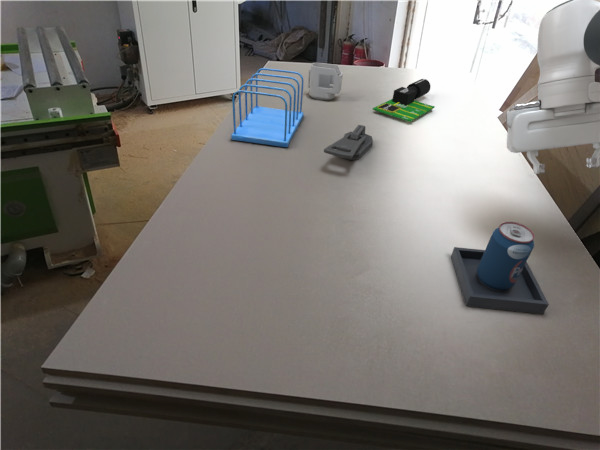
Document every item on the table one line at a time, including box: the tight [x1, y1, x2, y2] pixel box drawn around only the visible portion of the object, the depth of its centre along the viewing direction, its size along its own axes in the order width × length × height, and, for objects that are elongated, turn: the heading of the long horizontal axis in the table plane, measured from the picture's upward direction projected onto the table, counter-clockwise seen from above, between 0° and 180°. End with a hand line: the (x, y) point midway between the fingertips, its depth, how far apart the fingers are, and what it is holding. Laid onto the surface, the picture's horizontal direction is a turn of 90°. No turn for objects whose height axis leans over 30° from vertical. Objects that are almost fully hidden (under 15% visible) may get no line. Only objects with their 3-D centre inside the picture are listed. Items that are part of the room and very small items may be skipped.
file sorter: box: [230, 67, 305, 148], centre depth 126 cm, size 25×17×15 cm
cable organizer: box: [307, 62, 344, 102], centre depth 151 cm, size 7×12×12 cm, turn 75°
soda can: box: [477, 221, 535, 291], centre depth 74 cm, size 7×7×12 cm
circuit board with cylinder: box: [372, 78, 435, 123], centre depth 148 cm, size 30×7×15 cm
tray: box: [450, 246, 550, 315], centre depth 77 cm, size 14×14×3 cm
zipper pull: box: [323, 124, 374, 161], centre depth 115 cm, size 9×7×25 cm
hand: (565, 170), depth 78 cm, fingers open, 8 cm apart
